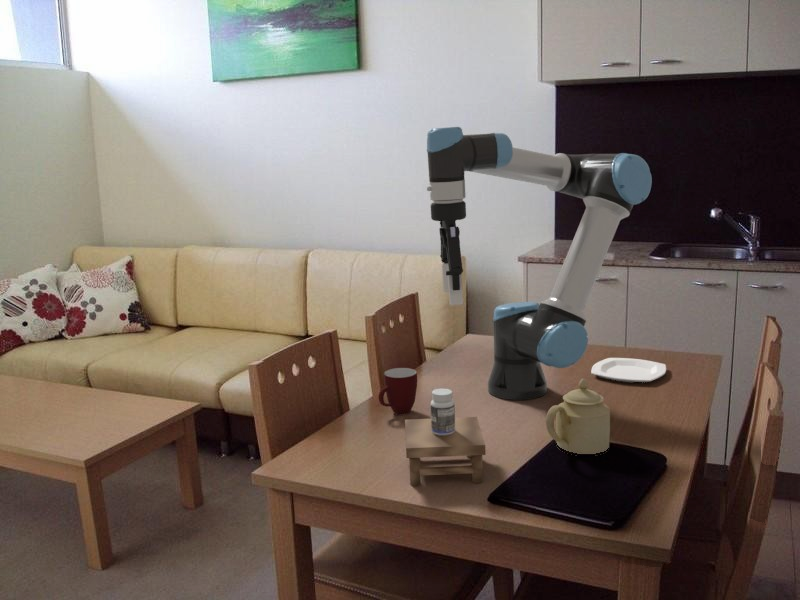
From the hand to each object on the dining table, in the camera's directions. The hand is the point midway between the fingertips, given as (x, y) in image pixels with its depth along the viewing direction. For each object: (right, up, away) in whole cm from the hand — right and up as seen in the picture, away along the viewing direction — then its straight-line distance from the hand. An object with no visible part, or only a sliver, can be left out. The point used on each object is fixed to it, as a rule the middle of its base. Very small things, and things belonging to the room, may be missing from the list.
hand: (452, 297), depth 168 cm
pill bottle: (-3, -27, -16) cm, 32 cm away
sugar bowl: (+26, -32, -8) cm, 42 cm away
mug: (-12, -28, +18) cm, 35 cm away
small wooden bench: (-3, -34, -15) cm, 38 cm away
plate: (+51, -21, +40) cm, 68 cm away
